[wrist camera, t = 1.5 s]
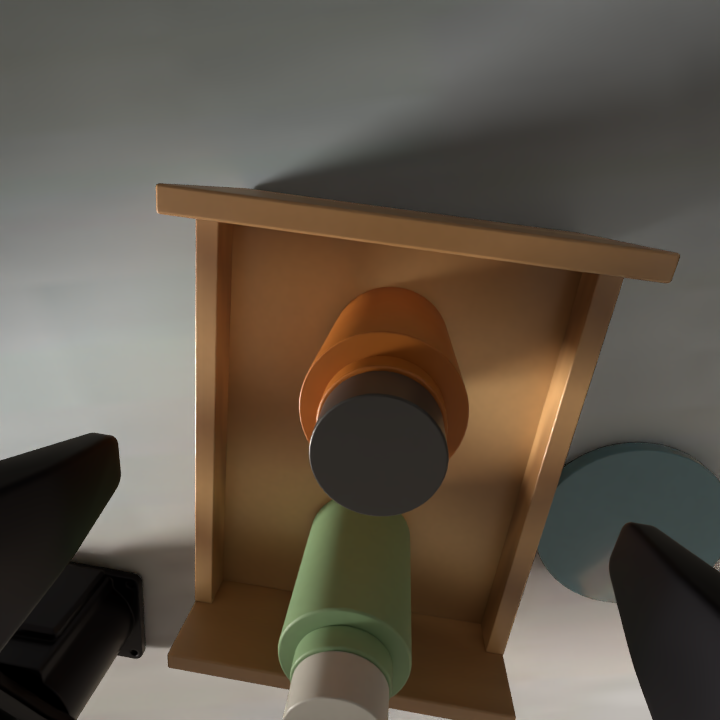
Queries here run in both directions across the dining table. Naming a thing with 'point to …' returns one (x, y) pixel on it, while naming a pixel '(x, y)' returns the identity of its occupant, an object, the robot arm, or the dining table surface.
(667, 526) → the coaster
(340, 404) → the amber bottle
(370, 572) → the green bottle
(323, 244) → the spice rack
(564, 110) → the dining table surface
